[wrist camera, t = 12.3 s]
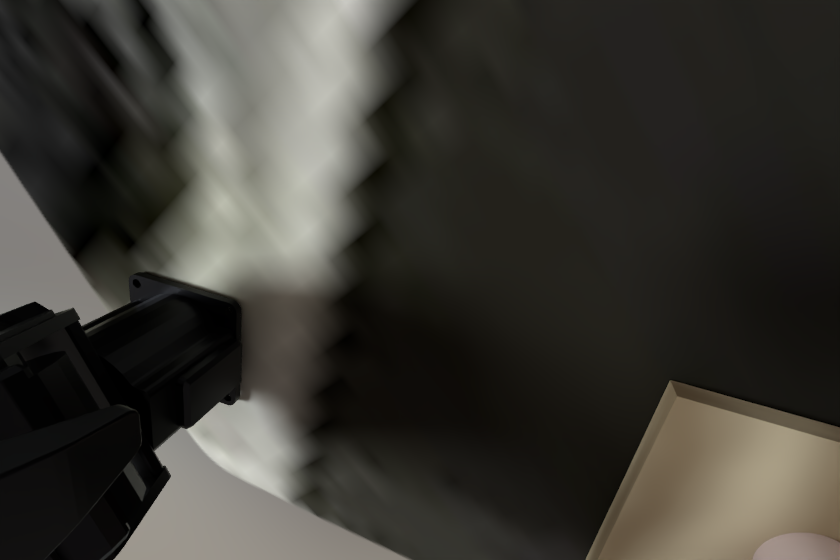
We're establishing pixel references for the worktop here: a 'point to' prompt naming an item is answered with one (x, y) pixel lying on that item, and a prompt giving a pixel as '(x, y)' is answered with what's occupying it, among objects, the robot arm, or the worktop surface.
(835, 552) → the smoothie
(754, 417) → the cutting board
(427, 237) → the worktop surface
